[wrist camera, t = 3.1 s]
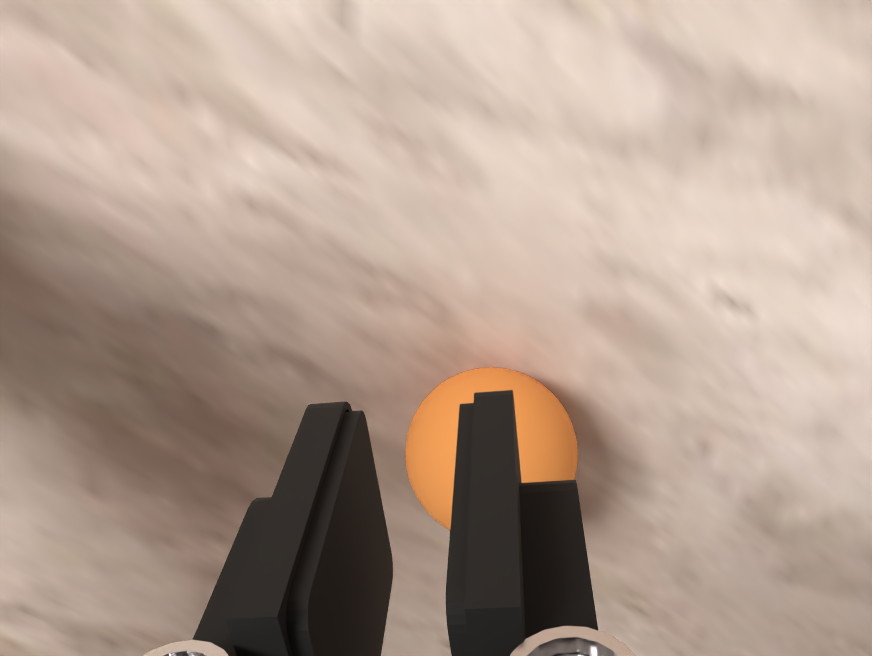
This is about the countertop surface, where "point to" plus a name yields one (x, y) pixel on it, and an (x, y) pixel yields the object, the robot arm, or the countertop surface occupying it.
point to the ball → (438, 426)
